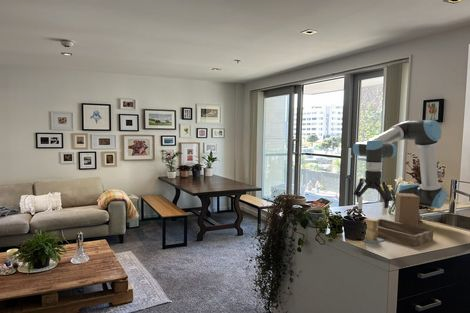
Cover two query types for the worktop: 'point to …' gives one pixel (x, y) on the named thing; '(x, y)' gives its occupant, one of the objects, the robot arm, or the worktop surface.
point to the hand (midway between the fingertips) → (371, 211)
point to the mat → (374, 240)
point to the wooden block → (407, 209)
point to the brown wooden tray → (403, 233)
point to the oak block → (371, 229)
